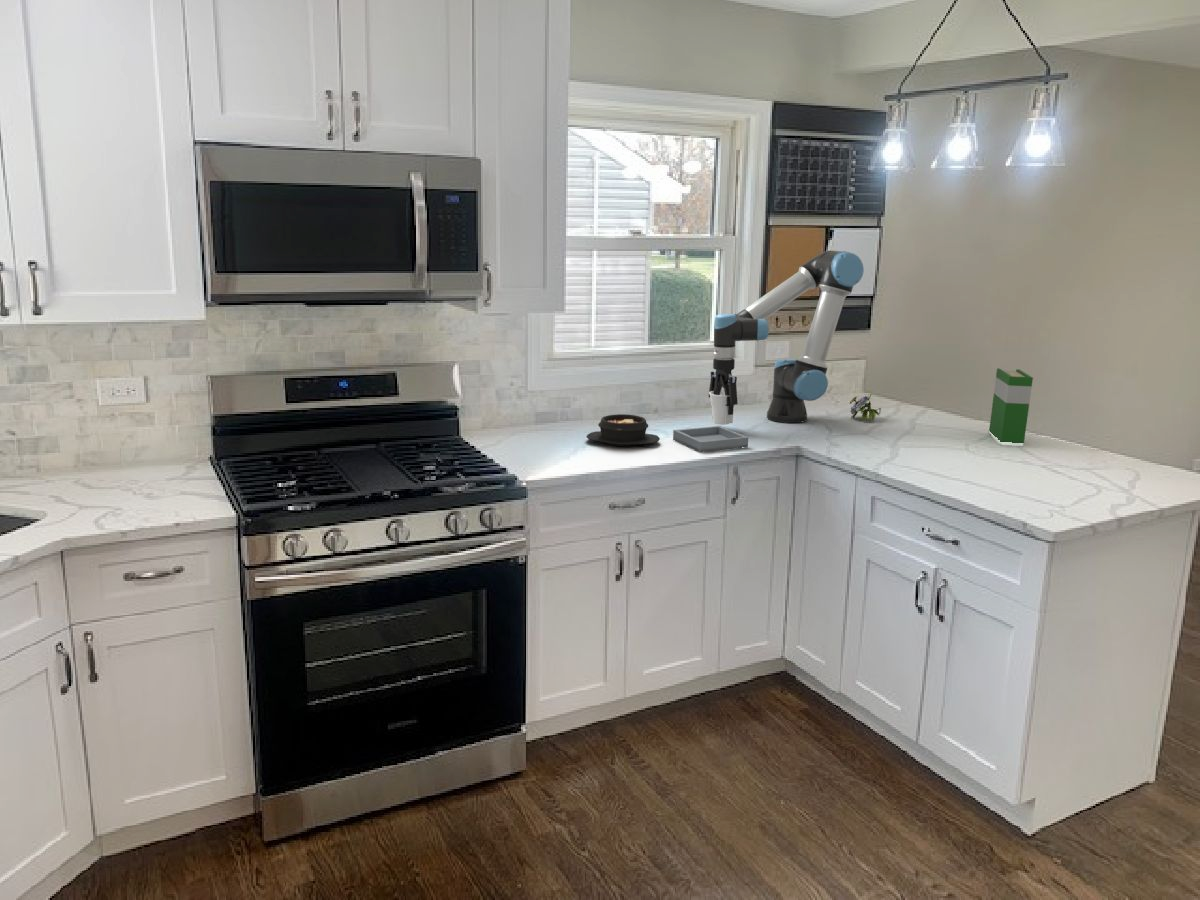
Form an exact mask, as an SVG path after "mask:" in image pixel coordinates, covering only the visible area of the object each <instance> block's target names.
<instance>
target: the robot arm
mask: <svg viewBox="0 0 1200 900" xmlns="http://www.w3.org/2000/svg"><path fill="white" fill-rule="evenodd" d="M863 275H864V264H863V262H862V260H861V258H860V257H859V256H858V255H857V254H855V253H852V252H849V251H845V250H844V251H840V250H839V251H838V250H825V251H822V252H821V253H819V254H818V255H815V256H814V257H812V258H811V259H810V260H808V261H807V262H805V263H804V264H803V265H801V266H799V268H798V271H797V272H796V273H795V274H793V275H792V276H790V277H789V278H787V279H785V280H784V281H783V282H781V283H780V284H779V285H777V286H776V287H774V288H772V290H770V291H769V292H767V293H766V294H763V296H761V297H760V298H758V299H757V300H755V301H754V302H753V303H751V304H750V305H748V306H747V307H745V308H744V309H742V310H741V311H740V312H738V313H734V314H733V313H719V314H716V315H715V317H714V325H713V329H714V330H713V336H714V337H713V350H712V351H713V363H712V365H713V366H712V369H713V370H714V371H710V383H709V389H708V390H709V391H708V398H710V394H709V392H711V391H714V395H720V392H721V390H724V391H725V396H727V400H726V401H727V404H726V409H725V425H729V424H733V421H734V408H735V406H736V405H738V403H739V402H738V401H739V400H738V391H737V390H738V389H737V387H738V386H737V381H738V380H737V379H738V377H737V376H733V375H732V371H733V370H735V363H736V360H735V357H736V342H743V341H745V342H748V341H753V342H755V341H756V342H757V341H765V340H766V339H767V338H768V337H769V334H770V325H769V322H768V320H767V319H768V318H769V317H770V316H772V315H774V314H775V313H776V312H778V311H779V310H781V309H783V308H784V307H785V306H787V305H788V304H789V303H791V302H792V301H794V300H795V299H797V298H798V297H800V296H802V295H803V294H804V293H805V292H808V291H809V290H815V289H816V288H818V287H819V288H820V290H821V292H820V295H819V299H818V302H817V305H816V308H815V312H814V315H813V319H812V322H811V325H810V329H809V332H808V334H807V338H806V341H805V344H804V348H803V351H802V354H801V356H798V357H797V358H796V359H795V358H793V359H777V360H776V361H775V363H774V368H773V384H772V385H773V386H772V388H773V389H772V390H773V391H772V399H771V402H770V404H769V407H768V410H767V412H766V419H767V418H768V420H769V419H770V420H769V421H772V420H773V421H772V422H776V421H778V422H777V423H783V422H800V423H803V422H802V421H805V420H807V421H808V412H807V407H806V404H805V401H806V402H807V401H808V402H811V401H812V402H813V401H816V400H818V399H820V398H822V396H823V395H825V393H826V392H827V390H828V386H829V380H828V378H827V371H828V369H829V368H828V367H829V366H828V365H827V363H826V360H827V356H828V353H829V350H830V347H831V343H832V340H833V338H834V335H835V331H836V327H837V325H838V321H839V319H840V315H841V312H842V310H843V307H844V302H845V299H846V297H847V296H850V295H851V294H852V291H853V288H854V286H856V285H857V284H858V283H859V282H861V280H862V278H863ZM728 395H729V396H728ZM733 407H734V408H733ZM711 419H713V414H712V413H711ZM805 422H806V421H805Z"/></svg>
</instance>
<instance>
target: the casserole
mask: <svg viewBox="0 0 1200 900" xmlns="http://www.w3.org/2000/svg"><path fill="white" fill-rule="evenodd" d="M597 424H598V427H599V428H600V431H599V430H598V431H591V432H590V433H588V434H586V438H587V439H588V440H589V441H595V442H602V443H604V444H607V445H611V446H614V445H615V446H614V447H634V446H637V445H649V444H650V445H651V444H654V443H657V442H659V441H660V440H661V438H660V437H659V436H658V435H657V434H652V433H647V429H648V427H649V424H648V423H647V420H646V418H645V417H643V416H640V415H635V414H627V413H626V414H622V413H621V414H620V413H618V414H608V415H606V416H603V417H601V419H600V422H598V423H597Z"/></svg>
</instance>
